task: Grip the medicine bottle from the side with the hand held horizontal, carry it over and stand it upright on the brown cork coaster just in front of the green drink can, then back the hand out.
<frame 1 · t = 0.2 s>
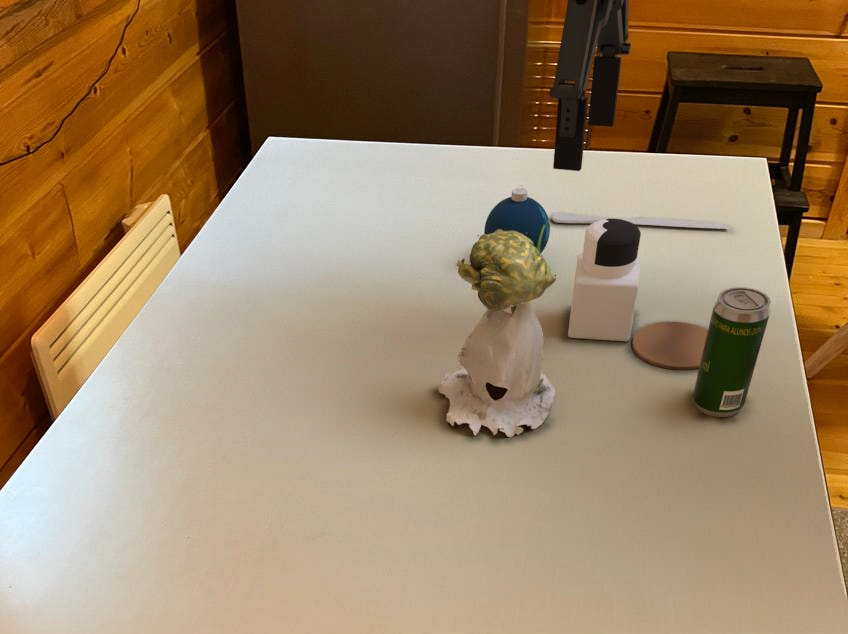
hand: (584, 146, 101), 20 cm above the table, tool pointing down, fingers open, 13 cm apart
white and green statuette: (493, 405, 105), on the table
butter knife: (638, 224, 133), on the table
green drink can: (716, 406, 103), on the table
medicine bottle: (599, 327, 115), on the table
christmas ornament: (514, 264, 127), on the table
coaster: (676, 346, 111), on the table
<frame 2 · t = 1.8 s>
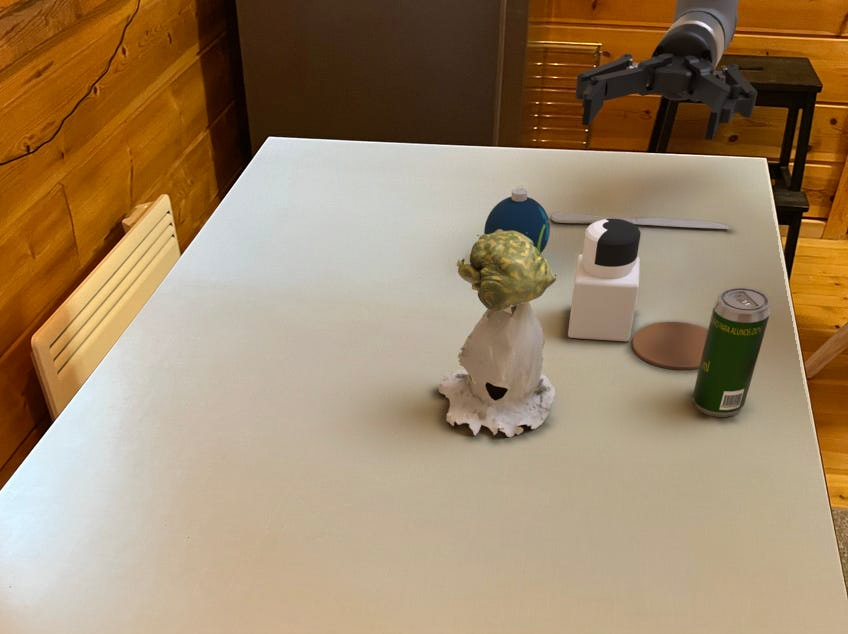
hand: (647, 119, 105), 20 cm above the table, tool horizontal, fingers open, 13 cm apart
nothing on the table moved.
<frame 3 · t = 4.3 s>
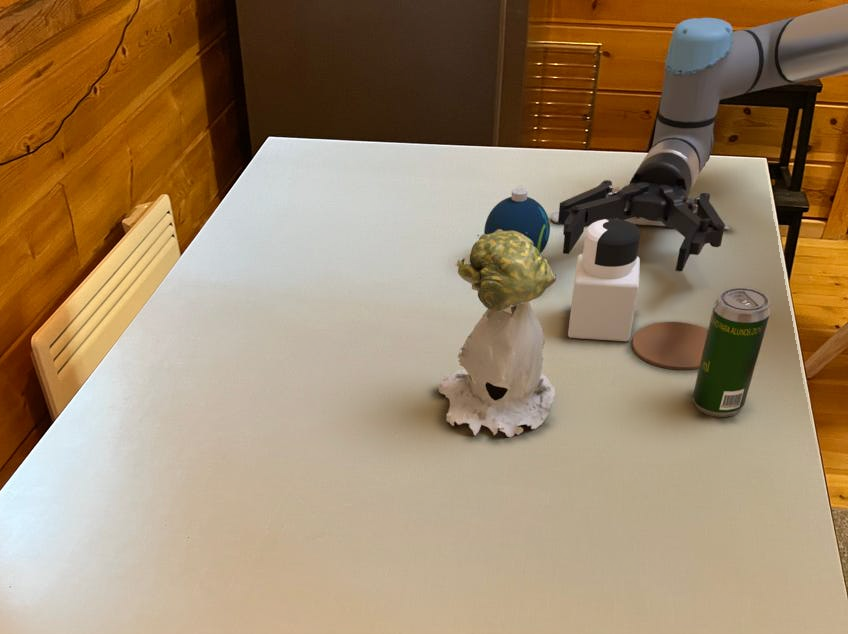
hand: (622, 251, 113), 7 cm above the table, tool horizontal, fingers open, 13 cm apart
nothing on the table moved.
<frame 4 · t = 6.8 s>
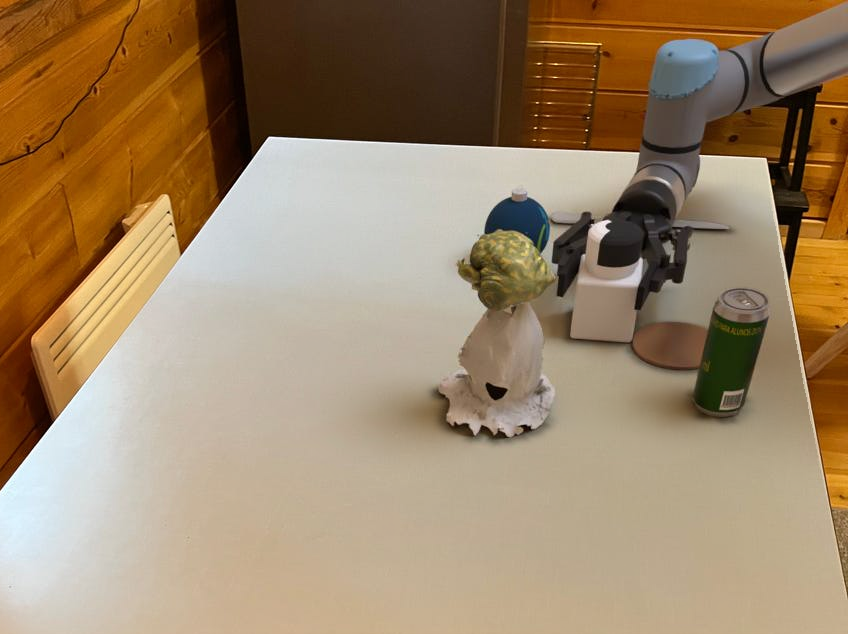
hand: (599, 292, 107), 7 cm above the table, tool horizontal, fingers closed on medicine bottle, 8 cm apart
medicine bottle: (601, 327, 115), on the table, touching gripper
everything else where it was.
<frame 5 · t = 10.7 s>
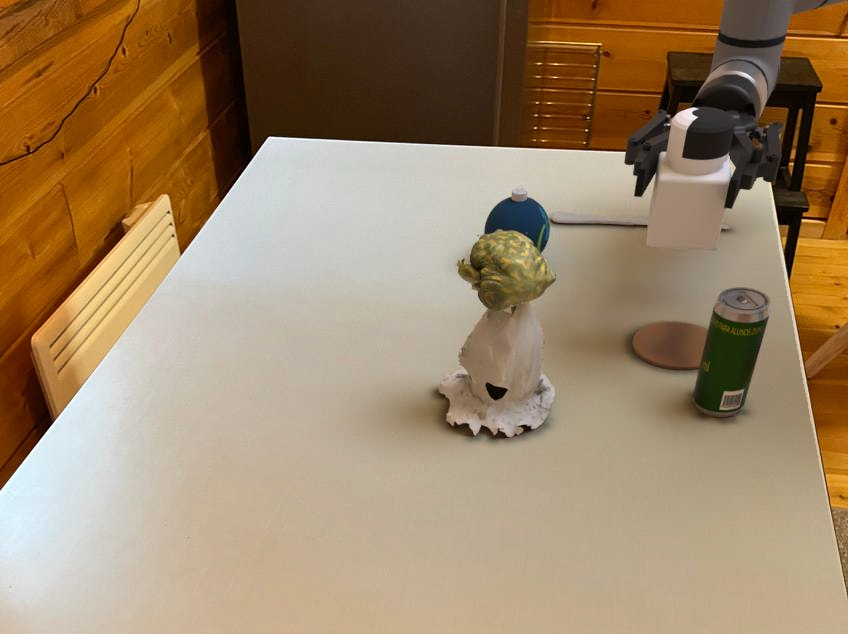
hand: (684, 188, 95), 19 cm above the table, tool horizontal, fingers closed on medicine bottle, 8 cm apart
medicine bottle: (680, 236, 103), point 13 cm above the table, touching gripper
everything else where it was.
when the fingers open (7 cm above the table, at t = 14.6 s): medicine bottle stays where it is, resting on coaster.
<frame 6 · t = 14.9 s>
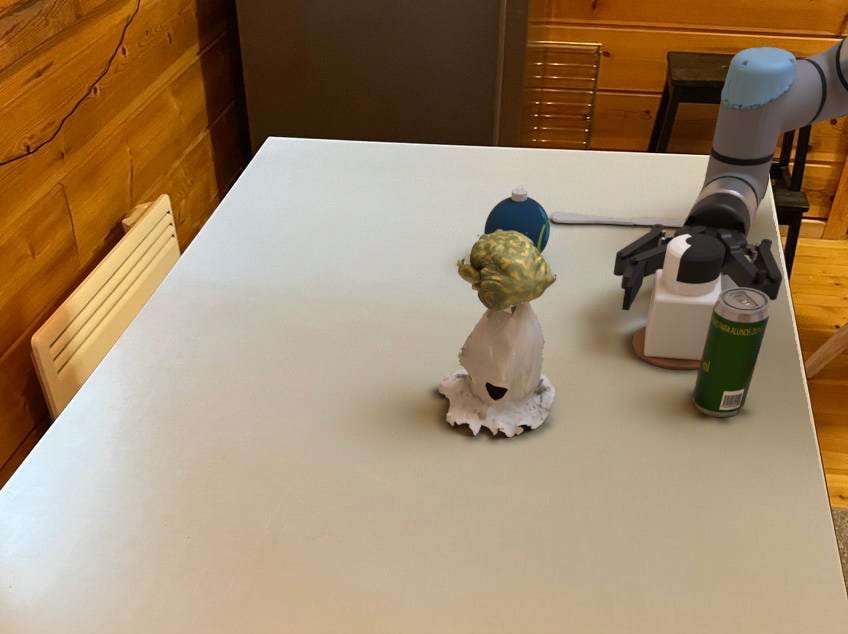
hand: (680, 307, 104), 7 cm above the table, tool horizontal, fingers open, 11 cm apart
medicine bottle: (675, 345, 111), resting on coaster
everything else where it was.
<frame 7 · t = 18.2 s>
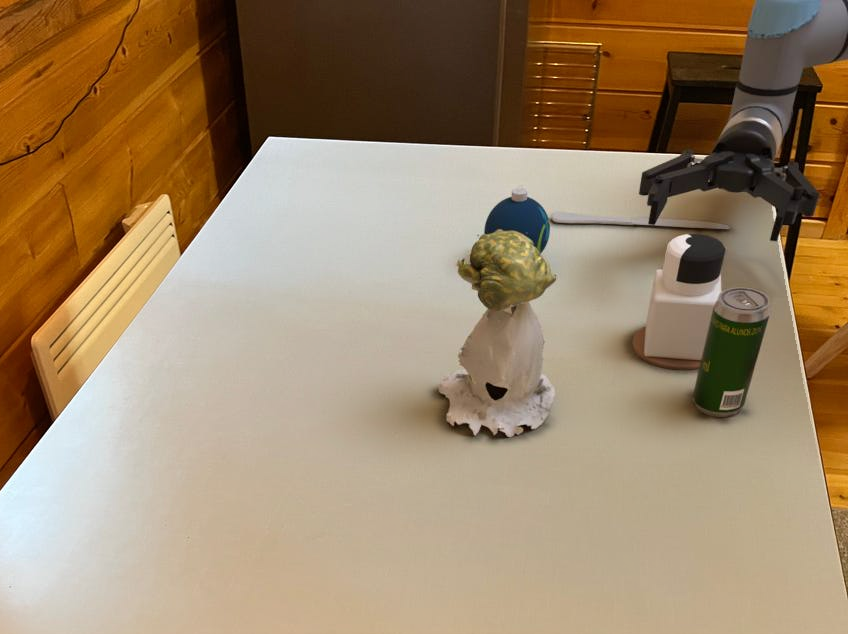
hand: (713, 220, 108), 11 cm above the table, tool horizontal, fingers open, 13 cm apart
nothing on the table moved.
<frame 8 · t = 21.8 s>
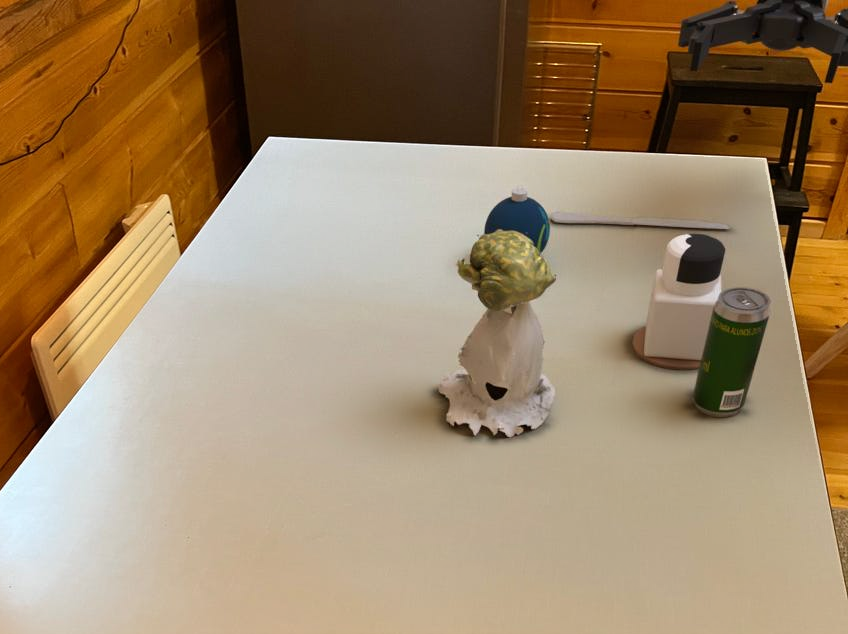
hand: (762, 62, 99), 26 cm above the table, tool horizontal, fingers open, 13 cm apart
nothing on the table moved.
at the end: medicine bottle 0.1 cm off-centre on the coaster, point 0.2 cm above the coaster's base; medicine bottle tilted 0°; medicine bottle 12.1 cm from the green drink can (horizontally) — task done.
